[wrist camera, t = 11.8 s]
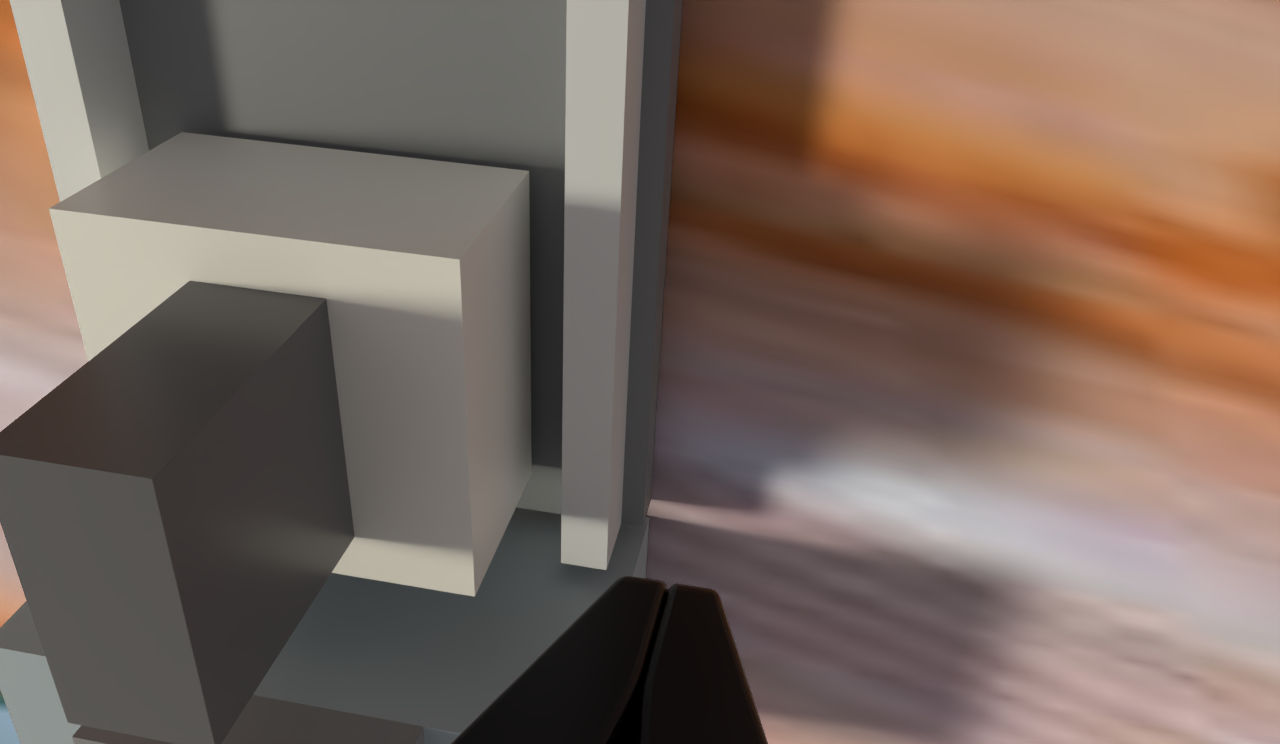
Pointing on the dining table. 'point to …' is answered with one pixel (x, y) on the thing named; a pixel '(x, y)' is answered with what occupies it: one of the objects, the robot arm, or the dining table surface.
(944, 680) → the dining table surface
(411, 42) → the rail track
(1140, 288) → the dining table surface
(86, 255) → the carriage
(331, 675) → the cabinet
